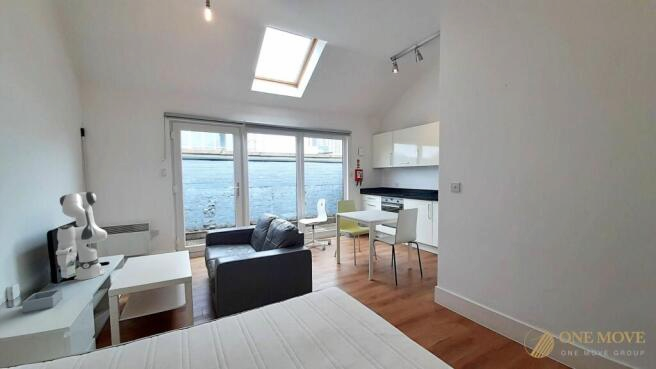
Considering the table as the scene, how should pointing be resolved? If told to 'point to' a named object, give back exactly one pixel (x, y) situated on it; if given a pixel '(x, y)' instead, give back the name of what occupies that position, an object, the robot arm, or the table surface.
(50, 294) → the crate
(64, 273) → the syrup box
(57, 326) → the table surface
